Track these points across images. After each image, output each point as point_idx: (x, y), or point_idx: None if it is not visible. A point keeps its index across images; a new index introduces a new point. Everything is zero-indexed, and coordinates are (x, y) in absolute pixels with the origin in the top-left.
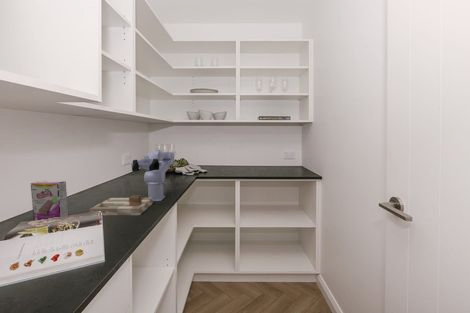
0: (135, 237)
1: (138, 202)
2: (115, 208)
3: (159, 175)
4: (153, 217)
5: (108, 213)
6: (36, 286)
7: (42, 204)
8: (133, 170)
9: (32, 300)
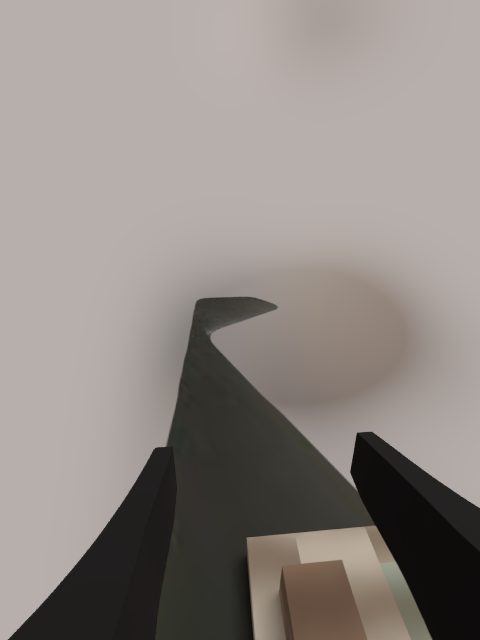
0: (188, 384)
1: (281, 588)
2: (376, 530)
3: None
4: None
5: None
6: (251, 308)
7: None
8: (355, 462)
9: (238, 300)
